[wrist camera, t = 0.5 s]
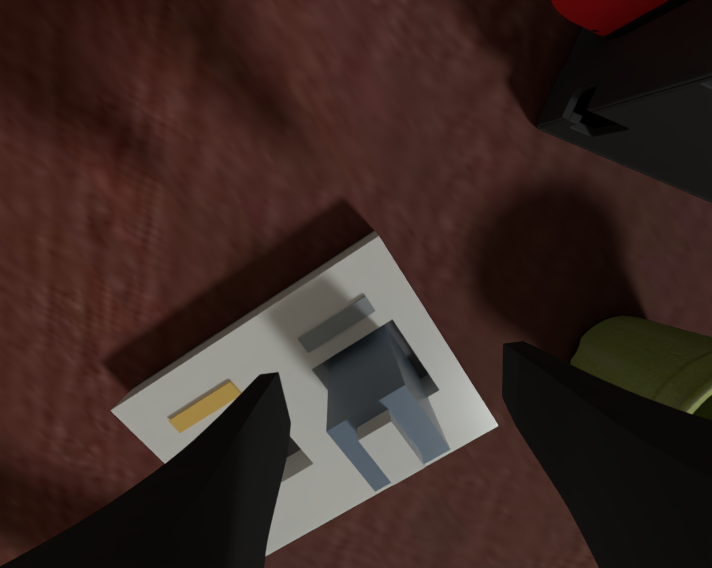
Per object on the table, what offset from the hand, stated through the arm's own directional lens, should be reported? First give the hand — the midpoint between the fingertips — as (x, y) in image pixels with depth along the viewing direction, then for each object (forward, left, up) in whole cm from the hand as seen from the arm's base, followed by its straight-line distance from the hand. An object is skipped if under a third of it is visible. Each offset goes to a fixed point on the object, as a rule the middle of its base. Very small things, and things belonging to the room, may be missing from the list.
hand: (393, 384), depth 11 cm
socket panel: (-7, -4, -10) cm, 13 cm away
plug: (-2, -4, -10) cm, 11 cm away
